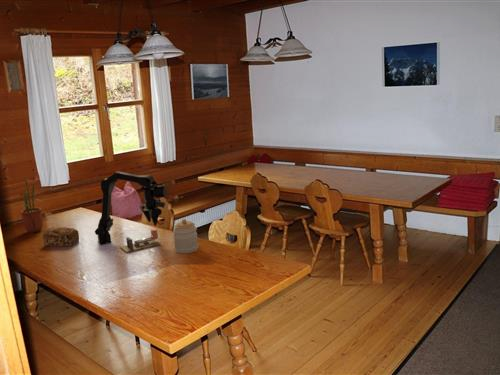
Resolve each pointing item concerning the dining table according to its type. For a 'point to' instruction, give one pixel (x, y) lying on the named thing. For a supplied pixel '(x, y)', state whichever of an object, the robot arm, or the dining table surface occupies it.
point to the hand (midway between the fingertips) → (152, 223)
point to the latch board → (138, 245)
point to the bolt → (153, 237)
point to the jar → (185, 237)
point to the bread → (60, 236)
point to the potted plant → (31, 213)
